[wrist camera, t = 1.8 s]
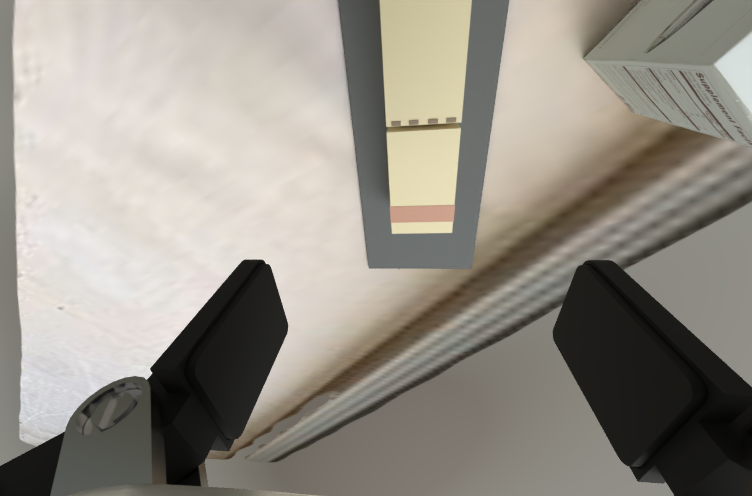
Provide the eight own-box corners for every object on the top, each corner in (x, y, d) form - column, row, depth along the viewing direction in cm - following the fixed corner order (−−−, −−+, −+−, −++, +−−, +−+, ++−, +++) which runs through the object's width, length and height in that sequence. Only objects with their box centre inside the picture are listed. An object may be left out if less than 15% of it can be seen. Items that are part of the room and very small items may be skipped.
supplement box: (678, -46, 20) (977, -156, 9) (730, 31, 22) (1026, 11, 11) (578, 58, 23) (711, 63, 13) (630, 116, 25) (782, 160, 15)
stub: (390, 117, 27) (385, 132, 22) (451, 113, 26) (461, 128, 21) (394, 205, 32) (391, 233, 27) (445, 203, 31) (452, 233, 26)
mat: (326, -118, 19) (324, -122, 19) (528, -153, 18) (531, -158, 17) (369, 266, 38) (368, 268, 37) (470, 266, 36) (471, 268, 36)
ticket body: (379, -119, 19) (367, -186, 14) (467, -134, 18) (489, -210, 13) (389, 112, 27) (384, 127, 21) (451, 108, 26) (461, 122, 21)
